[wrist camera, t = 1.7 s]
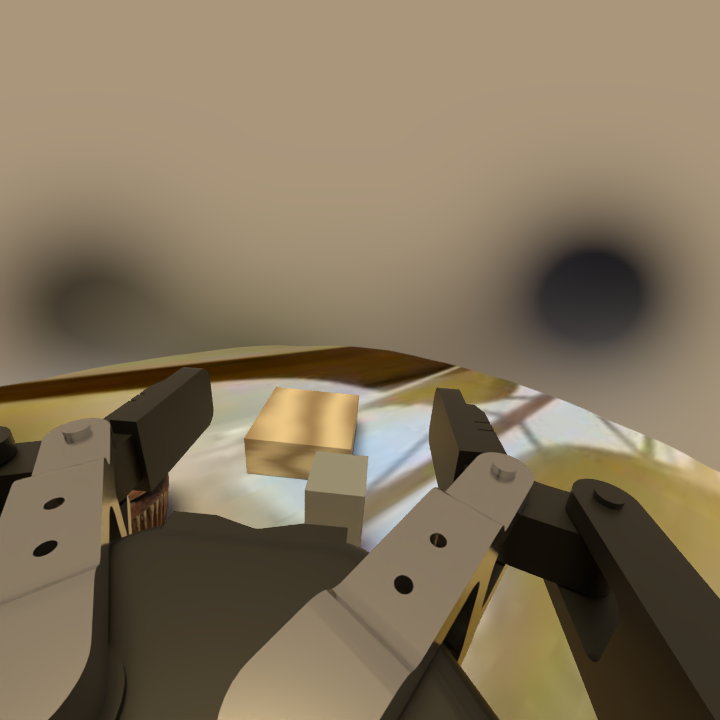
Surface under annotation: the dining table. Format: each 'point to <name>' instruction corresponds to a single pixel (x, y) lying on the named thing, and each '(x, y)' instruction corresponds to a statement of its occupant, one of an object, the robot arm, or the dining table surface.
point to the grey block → (337, 492)
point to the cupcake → (149, 507)
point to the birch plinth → (300, 431)
